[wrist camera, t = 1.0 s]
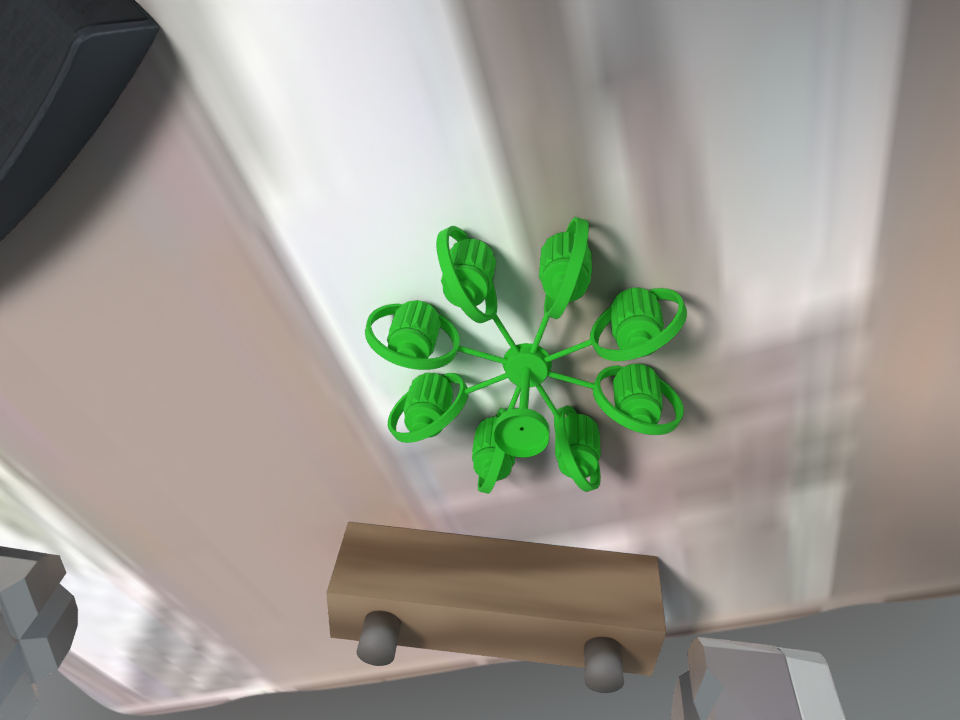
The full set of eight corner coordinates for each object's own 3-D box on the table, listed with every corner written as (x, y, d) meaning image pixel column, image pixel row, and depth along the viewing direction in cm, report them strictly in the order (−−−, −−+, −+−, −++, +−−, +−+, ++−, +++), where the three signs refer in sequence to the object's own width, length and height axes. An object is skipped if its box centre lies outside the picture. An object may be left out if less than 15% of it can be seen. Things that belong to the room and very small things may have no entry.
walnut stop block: (348, 522, 45) (316, 624, 39) (657, 556, 44) (670, 666, 39) (350, 566, 47) (321, 669, 42) (644, 600, 47) (655, 709, 41)
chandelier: (609, 132, 31) (617, 204, 25) (735, 400, 38) (764, 503, 32) (312, 279, 36) (264, 366, 30) (471, 490, 43) (456, 592, 37)
